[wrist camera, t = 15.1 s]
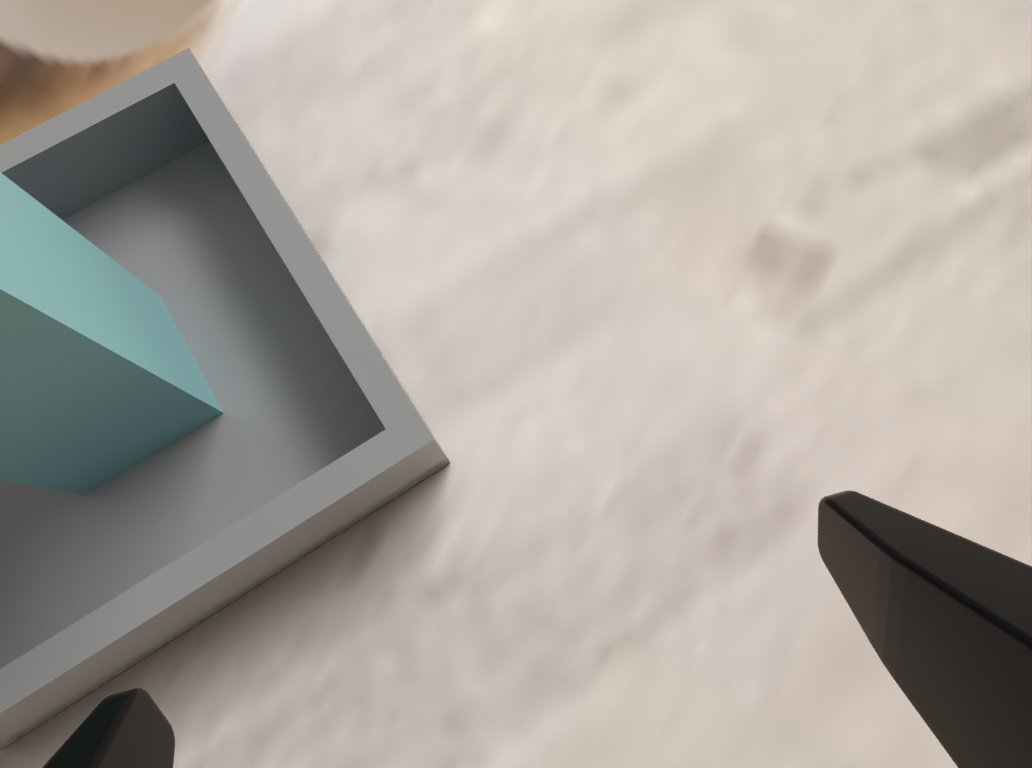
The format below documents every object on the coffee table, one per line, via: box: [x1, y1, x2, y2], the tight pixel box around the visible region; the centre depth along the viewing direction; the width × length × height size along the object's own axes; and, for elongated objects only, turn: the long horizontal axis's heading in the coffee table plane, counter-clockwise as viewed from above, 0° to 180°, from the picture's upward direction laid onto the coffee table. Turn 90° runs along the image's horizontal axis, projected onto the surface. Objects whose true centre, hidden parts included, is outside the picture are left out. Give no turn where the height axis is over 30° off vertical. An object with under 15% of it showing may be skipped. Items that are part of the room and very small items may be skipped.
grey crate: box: [0, 48, 450, 749], centre depth 22 cm, size 16×16×4 cm
